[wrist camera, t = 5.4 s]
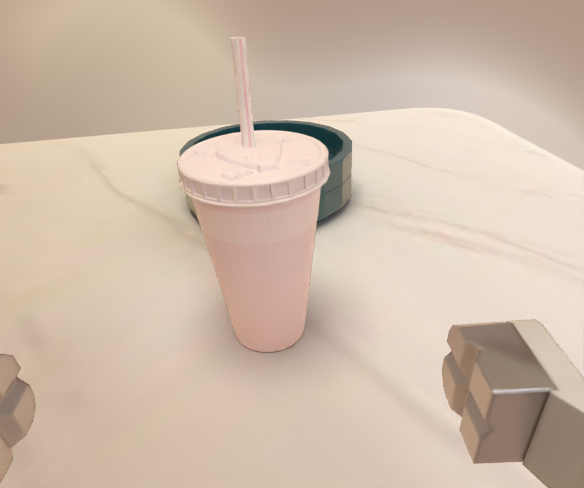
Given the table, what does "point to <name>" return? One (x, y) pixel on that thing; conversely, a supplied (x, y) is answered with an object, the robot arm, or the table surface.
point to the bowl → (333, 139)
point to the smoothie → (258, 218)
